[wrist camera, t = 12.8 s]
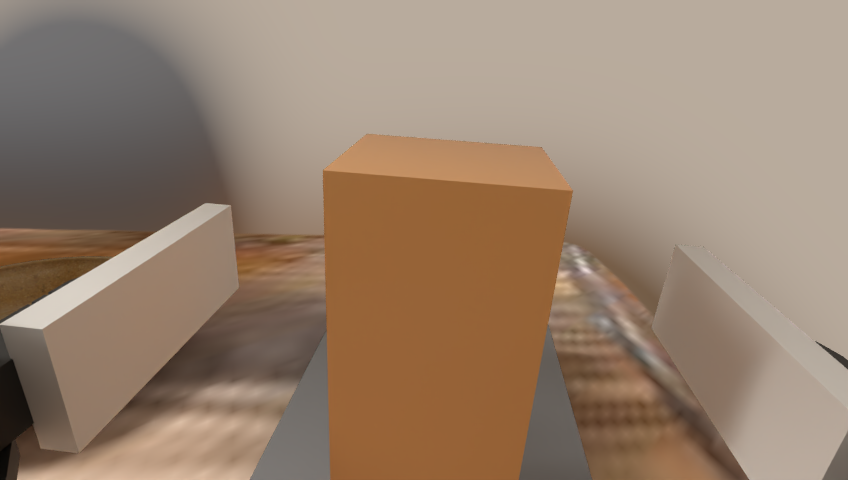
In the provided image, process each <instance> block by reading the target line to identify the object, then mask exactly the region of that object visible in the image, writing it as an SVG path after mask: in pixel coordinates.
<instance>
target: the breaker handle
mask: <svg viewBox="0 0 848 480" xmlns="http://www.w3.org/2000/svg"><path fill="white" fill-rule="evenodd" d="M323 192H324V237H325V279H326V321H327V363H328V405H329V447H330V480H519V475H520V470H521V464H522V459H523V454H524V448H525V443H526V438H527V432H528V427H529V422H530V416H531V411H532V406H533V401H534V395H535V390H536V385H537V379H538V374H539V369H540V363H541V358H542V353H543V347H544V342H545V337H546V331H547V326H548V321H549V315H550V310H551V305H552V300H553V294H554V289H555V284H556V278H557V273H558V268H559V262H560V257H561V252H562V246H563V241H564V236H565V230H566V225H567V219H568V214H569V209H570V204H571V198H572V193H573V190H572V189H571V187H570V186H569V185H568V183H567V182H566V181H565V179H564V178H563V176H562V175H561V173H560V172H559V171H558V169H557V168H556V167H555V165H554V164H553V162H552V161H551V160H550V158H549V157H548V156H547V154H546V153H545V151H544V150H543V148H542V147H532V146H517V145H505V144H504V145H503V144H492V143H479V142H466V141H452V140H440V139H426V138H414V137H401V136H388V135H375V134H366V135H365V136H364V137H362V139H360V140H359V141H358V142H356V143H355V144H354V145H353V146H352V147H350V148H349V149H348V150H347V151H346V152H344V153H343V154H342V155H341V156H340V157H338V158H337V159H336V160H335V161H334V162H332V163H331V164H330V165H329V166H327V167H326V168H325V169H324V170H323Z"/></svg>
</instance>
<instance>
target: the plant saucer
mask: <svg viewBox="0 0 848 480" xmlns="http://www.w3.org/2000/svg"><path fill="white" fill-rule="evenodd" d="M111 258H113V257H102V256H87V257H85V256H82V257H65V258H53V259H43V260H36V261H29V262H23V263H16V264H11V265H6V266H1V267H0V320H1V319H3V318H5V317H6V316H8V315H10V314H12V313H13V312H15V311H17V310H19V309H20V308H22V307H24V306H25V305H27V304H29V305H31V304H32V301H34V300H36V299H38V298H39V297H41V296H43V295H48V292H50V291H51V290H53V289H55V288H57V287H58V286H60V285H62V284H63V283H65V282H67V281H69V280H72V279H75V278H77V277H80V276H82V275H84V274H86V273H88V272H89V271H91V270H93V269H94V268H96V267H98V266H100V265H101V264H103V263H105V262H106V261H108V260H110V259H111Z"/></svg>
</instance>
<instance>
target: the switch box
mask: <svg viewBox="0 0 848 480" xmlns="http://www.w3.org/2000/svg"><path fill="white" fill-rule="evenodd" d="M250 480H330V447H329V405H328V363H327V330H326V332H325V333H324V335H323V337H322V339H321V341H320V343H319V345H318V347H317V349H316V351H315V353H314V355H313V357H312V359H311V361H310V363H309V365H308V367H307V369H306V371H305V373H304V375H303V377H302V378H301V380H300V382H299V384H298V386H297V388H296V390H295V392H294V394H293V396H292V398H291V400H290V402H289V404H288V406H287V408H286V410H285V412H284V414H283V416H282V418H281V420H280V422H279V424H278V425H277V427H276V429H275V431H274V433H273V435H272V437H271V439H270V441H269V443H268V445H267V447H266V449H265V451H264V453H263V455H262V457H261V459H260V461H259V463H258V465H257V467H256V469H255V470H254V472H253V474H252V476H251V478H250ZM519 480H592V478H591V474H590V470H589V467H588V463H587V460H586V456H585V453H584V449H583V446H582V442H581V439H580V435H579V431H578V428H577V424H576V421H575V417H574V414H573V410H572V407H571V403H570V400H569V396H568V392H567V389H566V385H565V382H564V378H563V375H562V371H561V368H560V364H559V361H558V357H557V353H556V350H555V346H554V343H553V339H552V336H551V332H550V329H549V325H548V326H547V331H546V337H545V342H544V347H543V353H542V358H541V363H540V369H539V374H538V379H537V385H536V390H535V395H534V401H533V406H532V411H531V416H530V422H529V427H528V432H527V438H526V443H525V448H524V454H523V459H522V464H521V470H520V475H519Z"/></svg>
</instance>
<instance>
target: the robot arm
mask: <svg viewBox="0 0 848 480" xmlns="http://www.w3.org/2000/svg"><path fill="white" fill-rule="evenodd" d="M238 288H239V281H238V271H237V261H236V252H235V242H234V232H233V223H232V214H231V206H230V205H220V204H209V203H205V204H204V205H202V206H200V207H198V208H197V209H195V210H193V211H192V212H190V213H188V214H186V215H185V216H183V217H181V218H180V219H178V220H176V221H175V222H173V223H171V224H170V225H168V226H166V227H164V228H163V229H161V230H159V231H157V232H156V233H154V234H152V235H151V236H149V237H147V238H146V239H144V240H142V241H140V242H139V243H137V244H135V245H134V246H132V247H130V248H129V249H127V250H125V251H123V252H122V253H120V254H118V255H117V256H115V257H113V258H111V259H110V260H108V261H106V262H105V263H103V264H101V265H100V266H98V267H96V268H94V269H93V270H91V271H89V272H88V273H86V274H84V275H82V276H80V277H77V278H75V279H72V280H69V281H67V282H65V283H63V284H62V285H60V286H58V287H57V288H55V289H53V290H51V291H50V292H48V295H43V296H41V297H39V298H38V299H36V300H34V301H32V304H31V305H29V304H27V305H25V306H24V307H22V308H20V309H19V310H17V311H15V312H13V313H12V314H10V315H8V316H6V317H5V318H3V319H1V320H0V480H17V473H18V465H19V458H20V454H19V450H18V447H17V444H16V441H15V439H16V438H17V437H18V436H19V435H20V434H22V433H23V432H24V431H25V430H26V429H27V428H29V427H30V426H31V425H32V424H33V427H34V430H35V433H36V436H37V439H38V442H39V445H40V448H41V449H47V450H55V451H63V452H71V453H80V452H81V451H82V450H83V449H84V448H85V447H86V446H87V445H88V444H89V443H90V442H91V441H92V440H93V439H94V438H95V437H96V436H97V434H98V433H99V432H100V431H101V430H102V429H103V428H104V427H105V426H106V425H107V424H108V423H109V422H110V421H111V420H112V419H113V418H114V417H115V416H116V415H117V414H118V413H119V412H120V411H121V410H122V409H123V408H124V406H125V405H126V404H127V403H128V402H129V401H130V400H131V399H132V398H133V397H134V396H135V395H136V394H137V393H138V392H139V391H140V390H141V389H142V388H143V387H144V386H145V385H146V384H147V383H148V382H149V381H150V380H151V379H152V377H153V376H154V375H155V374H156V373H157V372H158V371H159V370H160V369H161V368H162V367H163V366H164V365H165V364H166V363H167V362H168V361H169V360H170V359H171V358H172V357H173V356H174V355H175V354H176V353H177V352H178V351H179V349H180V348H181V347H182V346H183V345H184V344H185V343H186V342H187V341H188V340H189V339H190V338H191V337H192V336H193V335H194V334H195V333H196V332H197V331H198V330H199V329H200V328H201V327H202V326H203V325H204V324H205V323H206V322H207V320H208V319H209V318H210V317H211V316H212V315H213V314H214V313H215V312H216V311H217V310H218V309H219V308H220V307H221V306H222V305H223V304H224V303H225V302H226V301H227V300H228V299H229V298H230V297H231V296H232V295H233V294H234V292H235V291H236V290H237V289H238ZM652 330H653V332H654V333H655V335H656V336H657V338H658V339H659V341H660V342H661V344H662V345H663V347H664V349H665V350H666V352H667V353H668V355H669V356H670V358H671V359H672V361H673V362H674V364H675V366H676V367H677V369H678V370H679V372H680V373H681V375H682V376H683V378H684V380H685V381H686V383H687V384H688V386H689V387H690V389H691V390H692V392H693V393H694V395H695V397H696V398H697V400H698V401H699V403H700V404H701V406H702V407H703V409H704V410H705V412H706V414H707V415H708V417H709V418H710V420H711V421H712V423H713V424H714V426H715V428H716V429H717V431H718V432H719V434H720V435H721V437H722V438H723V440H724V441H725V443H726V445H727V446H728V448H729V449H730V451H731V452H732V454H733V455H734V457H735V458H736V460H737V462H738V463H739V465H740V466H741V468H742V469H743V471H744V472H745V474H746V476H747V477H748V479H749V480H848V360H847V359H845V358H844V357H843V356H841V355H839V354H838V353H836V352H834V351H832V350H830V349H829V348H827V347H825V346H823V345H822V344H820V343H818V342H816V341H814V340H813V339H811V338H810V337H809V336H808V335H807V334H805V333H804V332H803V331H802V330H801V329H800V328H798V327H797V326H796V325H795V324H794V323H793V322H791V321H790V320H789V319H788V318H787V317H786V316H784V315H783V314H782V313H781V312H779V311H778V310H777V309H776V308H775V307H774V306H772V305H771V304H770V303H769V302H768V301H767V300H766V299H764V298H763V297H762V296H761V295H760V294H759V293H757V292H756V291H755V290H754V289H753V288H751V287H750V286H749V285H748V284H747V283H746V282H744V281H743V280H742V279H741V278H740V277H739V276H737V275H736V274H735V273H734V272H733V271H732V270H730V269H729V268H728V267H727V266H726V265H724V264H723V263H722V262H721V261H720V260H718V259H717V258H716V257H715V256H714V255H713V254H712V253H710V252H709V251H708V250H707V249H706V248H704V247H699V246H688V245H675V248H674V252H673V255H672V259H671V262H670V266H669V269H668V273H667V276H666V280H665V283H664V286H663V290H662V293H661V297H660V300H659V304H658V307H657V311H656V314H655V318H654V321H653V325H652Z"/></svg>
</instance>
